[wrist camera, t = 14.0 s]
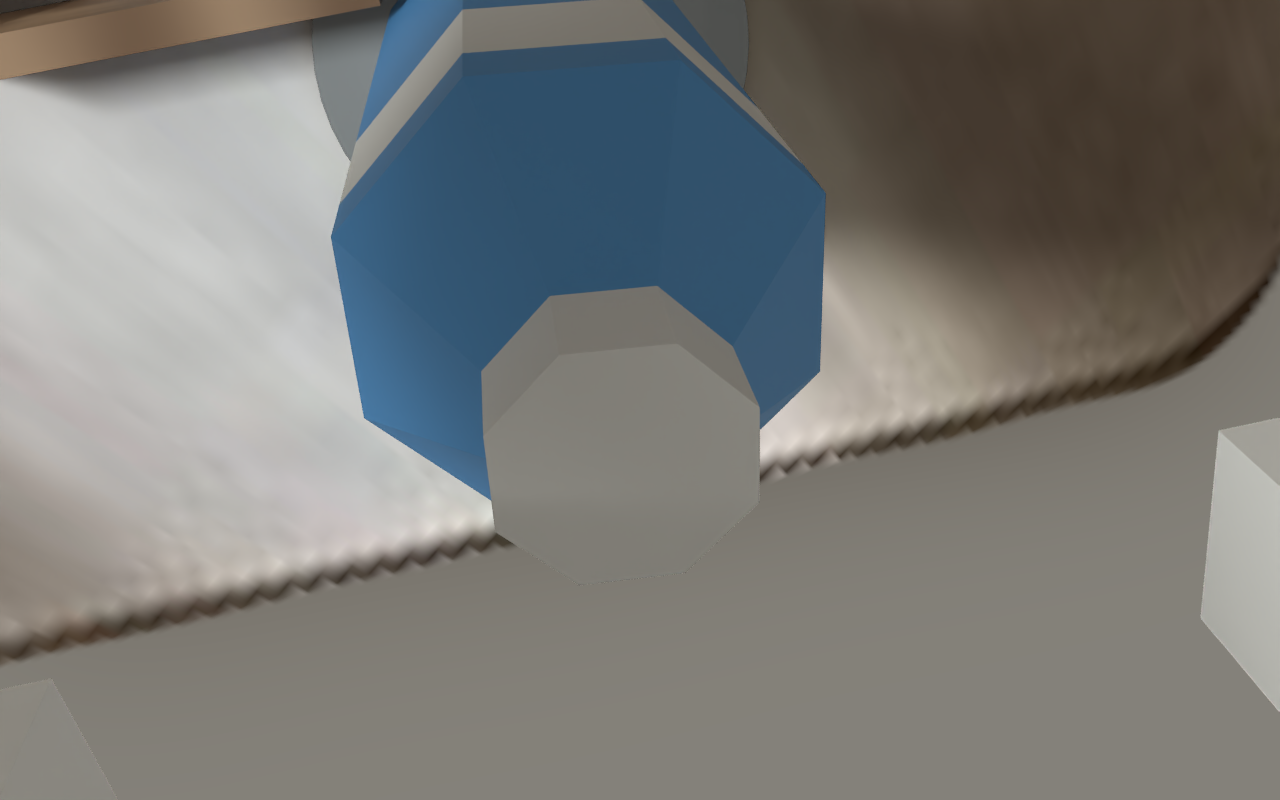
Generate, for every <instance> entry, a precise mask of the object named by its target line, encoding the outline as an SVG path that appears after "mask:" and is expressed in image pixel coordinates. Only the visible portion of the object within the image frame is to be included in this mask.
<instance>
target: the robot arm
mask: <svg viewBox="0 0 1280 800" xmlns="http://www.w3.org/2000/svg"><path fill="white" fill-rule="evenodd" d="M1213 484H1214V485H1213V494H1212V504H1211V514H1210V525H1209V535H1208V546H1207V556H1206V567H1205V577H1204V587H1203V598H1202V608H1201V619H1202V620H1203V621H1204V623H1205V624H1206V625H1207V626H1208V628H1209V629H1210V630H1211V631H1212V632H1213V634H1214V635H1215V636H1216V637H1217V638H1218V639H1219V641H1220V642H1221V643H1222V644H1223V645H1224V647H1225V648H1226V649H1227V650H1228V651H1229V653H1230V654H1231V655H1232V656H1233V657H1234V659H1235V660H1236V661H1237V662H1238V663H1239V665H1240V666H1241V667H1242V668H1243V669H1244V670H1245V672H1246V673H1247V674H1248V675H1249V677H1250V678H1251V679H1252V680H1253V681H1254V682H1255V684H1256V685H1257V686H1258V687H1259V688H1260V689H1261V691H1262V692H1263V693H1264V694H1265V695H1266V697H1267V698H1268V699H1269V700H1270V701H1271V703H1272V704H1273V705H1274V706H1275V708H1276V709H1277V710H1278V711H1279V712H1280V418H1275V419H1270V420H1265V421H1261V422H1257V423H1251V424H1247V425H1242V426H1238V427H1233V428H1228V429H1223V430H1219V432H1218V443H1217V453H1216V464H1215V473H1214V483H1213ZM0 800H118V798H117V797H116V795H115V793H114V791H113V789H112V788H111V786H110V784H109V782H108V780H107V779H106V777H105V775H104V773H103V771H102V769H101V768H100V766H99V764H98V762H97V760H96V759H95V757H94V755H93V753H92V751H91V749H90V748H89V746H88V744H87V742H86V740H85V739H84V737H83V735H82V733H81V731H80V730H79V728H78V726H77V724H76V722H75V720H74V719H73V717H72V715H71V714H70V711H69V710H68V708H67V706H66V704H65V702H64V700H63V699H62V697H61V695H60V693H59V691H58V690H57V688H56V686H55V684H54V682H53V681H52V679H46V680H42V681H37V682H32V683H27V684H23V685H18V686H14V687H8V688H4V689H0Z"/></svg>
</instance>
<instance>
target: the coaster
mask: <svg viewBox="0 0 1280 800" xmlns="http://www.w3.org/2000/svg"><path fill="white" fill-rule="evenodd" d="M397 1H398V0H382V3H381V6H376V7H371V8H365V9H360V10H355V11H350V12H345V13H340V14H335V15H330V16H324V17H319V18H314V19H313V28H312V48H313V58H314V69H315V75H316V79H317V84H318V88H319V92H320V97H321V101H322V103H323V106H324V109H325V112H326V114H327V117H328V120H329V122H330V125H331V128H332V130H333V132H334V133H335V135H336V137H337V139H338V141H339V143H340V145H341V147H342V149H343V151H344V153H345V154H346V156H347V157H348V158H349V160H350V161H351V159H352V155H353V151H354V148H355V144H356V140H357V136H358V132H359V129H360V125H361V121H362V117H363V113H364V110H365V106H366V102H367V98H368V94H369V90H370V87H371V83H372V79H373V75H374V71H375V68H376V64H377V60H378V56H379V52H380V49H381V45H382V41H383V37H384V33H385V30H386V26H387V22H388V18H389V14H390V11H391V9H392V8H393V6H394V5H395V4H396V2H397ZM673 2H674V3H675V4H676V5H677V7H678V8H679V9H680V10H681V12H682V13H683V14H684V15H685V17H686V18H687V19H688V20H689V22H690V23H691V24H692V26H693V27H694V28H695V29H696V31H697V32H698V33H699V34H700V36H701V37H702V38H703V39H704V41H705V42H706V43H707V44H708V46H709V47H710V48H711V49H712V51H713V52H714V53H715V54H716V56H717V57H718V58H719V60H720V61H721V62H722V63H723V65H724V66H725V67H726V68H727V70H728V71H729V72H730V73H731V75H732V76H733V77H734V78H735V80H736V81H737V82H738V83H739V85H740V86H741V87H742V88H743V89H744V84H745V79H746V74H747V63H748V50H749V37H748V18H747V11H746V6H745V0H673Z"/></svg>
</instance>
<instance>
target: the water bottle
mask: <svg viewBox="0 0 1280 800" xmlns="http://www.w3.org/2000/svg"><path fill="white" fill-rule="evenodd" d="M825 199H826V193H825V192H824V190H823V189H822V188H821V187H820V185H819V184H818V183H817V182H816V180H815V179H814V178H813V177H812V175H811V174H810V173H809V171H808V170H807V169H806V168H805V166H804V165H803V164H802V163H801V161H800V160H799V159H798V158H797V156H796V155H795V154H794V153H793V151H792V150H791V149H790V148H789V146H788V145H787V144H786V143H785V141H784V140H783V139H782V138H781V136H780V135H779V134H778V132H777V131H776V130H775V129H774V127H773V126H772V125H771V124H770V122H769V121H768V120H767V119H766V117H765V116H764V115H763V114H762V112H761V111H760V110H759V109H758V107H757V106H756V105H755V104H754V102H753V101H752V100H751V99H750V97H749V96H748V95H747V93H746V92H745V91H744V90H743V88H742V87H741V86H740V85H739V83H738V82H737V81H736V80H735V78H734V77H733V76H732V75H731V73H730V72H729V71H728V70H727V68H726V67H725V66H724V65H723V63H722V62H721V61H720V60H719V58H718V57H717V56H716V54H715V53H714V52H713V51H712V49H711V48H710V47H709V46H708V44H707V43H706V42H705V41H704V39H703V38H702V37H701V36H700V34H699V33H698V32H697V31H696V29H695V28H694V27H693V26H692V24H691V23H690V22H689V20H688V19H687V18H686V17H685V15H684V14H683V13H682V12H681V10H680V9H679V8H678V7H677V5H676V4H675V3H674V2H673V0H398V1H397V2H396V4H395V5H394V6H393V8H392V9H391V11H390V14H389V18H388V22H387V26H386V30H385V33H384V37H383V41H382V45H381V49H380V52H379V56H378V60H377V64H376V68H375V71H374V75H373V79H372V83H371V87H370V90H369V94H368V98H367V102H366V106H365V110H364V113H363V117H362V121H361V125H360V129H359V132H358V136H357V140H356V144H355V148H354V151H353V155H352V159H351V163H350V167H349V170H348V174H347V178H346V182H345V186H344V189H343V193H342V197H341V201H340V205H339V208H338V212H337V216H336V220H335V224H334V228H333V231H332V235H331V240H332V245H333V251H334V256H335V261H336V267H337V272H338V278H339V283H340V289H341V294H342V300H343V305H344V311H345V316H346V321H347V327H348V332H349V338H350V343H351V349H352V354H353V360H354V365H355V371H356V376H357V381H358V387H359V392H360V398H361V403H362V409H363V414H364V418H365V419H366V420H368V421H370V422H371V423H373V424H374V425H376V426H377V427H379V428H380V429H382V430H383V431H385V432H386V433H388V434H390V435H391V436H393V437H394V438H396V439H397V440H399V441H400V442H402V443H403V444H405V445H407V446H408V447H410V448H411V449H413V450H414V451H416V452H417V453H419V454H420V455H422V456H423V457H425V458H427V459H428V460H430V461H431V462H433V463H434V464H436V465H437V466H439V467H440V468H442V469H443V470H445V471H447V472H448V473H450V474H451V475H453V476H454V477H456V478H457V479H459V480H460V481H462V482H463V483H465V484H467V485H468V486H470V487H471V488H473V489H474V490H476V491H477V492H479V493H480V494H482V495H484V496H485V497H487V498H488V499H490V500H491V502H492V509H493V517H494V525H495V532H496V533H498V534H499V535H501V536H503V537H504V538H506V539H507V540H509V541H510V542H512V543H514V544H515V545H517V546H518V547H520V548H521V549H523V550H525V551H526V552H528V553H529V554H531V555H532V556H534V557H536V558H537V559H539V560H540V561H542V562H543V563H545V564H547V565H548V566H550V567H551V568H553V569H554V570H556V571H558V572H559V573H561V574H562V575H564V576H565V577H567V578H569V579H570V580H572V581H573V582H575V583H577V584H578V585H586V584H595V583H604V582H612V581H621V580H630V579H638V578H647V577H655V576H664V575H672V574H681V573H686V572H687V571H688V570H689V569H690V568H691V567H692V566H693V565H694V564H695V563H696V562H697V561H698V560H699V559H700V558H701V557H702V556H703V555H705V554H706V553H707V552H708V551H709V550H710V549H711V548H712V547H713V546H714V545H715V544H716V543H717V542H718V541H719V540H720V539H721V538H722V537H724V536H725V535H726V534H727V533H728V532H729V531H730V530H731V529H732V528H733V527H734V526H735V525H736V524H737V523H738V522H739V521H740V520H741V519H742V518H744V516H746V515H747V514H748V513H749V512H750V511H751V510H752V509H753V508H754V507H755V506H756V505H757V504H758V503H759V476H760V429H761V428H762V427H763V426H764V425H766V424H767V423H768V422H769V421H770V420H771V419H772V418H773V417H774V416H775V415H776V414H777V413H778V412H779V411H780V410H781V409H782V408H783V407H784V406H785V405H786V404H787V403H788V402H789V401H790V400H791V399H792V398H793V397H794V396H795V395H796V394H797V393H798V392H799V391H800V390H801V389H802V388H803V387H804V386H805V385H806V384H807V383H809V382H810V381H811V380H812V379H813V378H814V377H815V376H816V375H817V374H818V373H819V372H820V353H821V322H822V291H823V261H824V230H825Z"/></svg>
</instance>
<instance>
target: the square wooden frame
mask: <svg viewBox="0 0 1280 800" xmlns="http://www.w3.org/2000/svg"><path fill="white" fill-rule="evenodd" d="M381 3H382V0H70V1H64V2H59V3H54V4H49V5H44V6H38V7H33V8H28V9H23V10H18V11H13V12H7V13H2V14H0V80H1V79H6V78H11V77H17V76H22V75H27V74H32V73H37V72H42V71H47V70H53V69H58V68H63V67H68V66H73V65H78V64H83V63H88V62H94V61H99V60H104V59H109V58H114V57H119V56H124V55H129V54H135V53H140V52H145V51H150V50H155V49H160V48H165V47H171V46H176V45H181V44H186V43H191V42H196V41H201V40H206V39H212V38H217V37H222V36H227V35H232V34H237V33H242V32H247V31H253V30H258V29H263V28H268V27H273V26H278V25H283V24H289V23H294V22H299V21H304V20H309V19H314V18H319V17H324V16H330V15H335V14H340V13H345V12H350V11H355V10H360V9H365V8H371V7H376V6H381Z"/></svg>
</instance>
